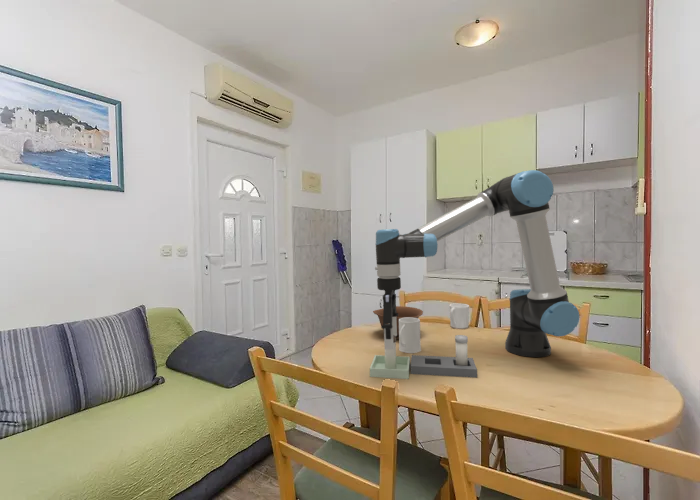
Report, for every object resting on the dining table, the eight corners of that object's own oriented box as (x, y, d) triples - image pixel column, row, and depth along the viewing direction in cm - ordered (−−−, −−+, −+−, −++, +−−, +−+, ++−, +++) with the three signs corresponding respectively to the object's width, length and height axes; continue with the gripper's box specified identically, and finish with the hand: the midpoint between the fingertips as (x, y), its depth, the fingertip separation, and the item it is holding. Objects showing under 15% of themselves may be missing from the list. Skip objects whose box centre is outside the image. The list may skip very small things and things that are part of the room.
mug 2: (456, 323, 169) (456, 302, 169) (473, 326, 162) (472, 305, 162) (443, 327, 162) (442, 306, 162) (460, 331, 155) (459, 308, 155)
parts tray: (410, 365, 117) (409, 356, 117) (408, 380, 105) (408, 370, 105) (375, 363, 119) (374, 355, 119) (369, 378, 108) (369, 368, 108)
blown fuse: (397, 367, 114) (396, 335, 113) (396, 372, 110) (395, 338, 110) (385, 367, 115) (384, 334, 114) (384, 371, 111) (383, 338, 110)
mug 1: (408, 358, 124) (407, 325, 123) (389, 353, 129) (388, 322, 129) (425, 349, 132) (424, 319, 132) (406, 345, 138) (406, 316, 138)
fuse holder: (472, 366, 115) (472, 332, 114) (477, 379, 105) (476, 342, 104) (411, 363, 119) (411, 330, 118) (410, 375, 109) (410, 339, 108)
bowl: (366, 331, 160) (365, 308, 159) (409, 326, 166) (408, 304, 166) (385, 345, 139) (384, 318, 138) (433, 339, 145) (432, 313, 145)
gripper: (381, 272, 124) (384, 330, 125) (371, 282, 100) (374, 354, 100) (402, 272, 122) (404, 331, 123) (397, 282, 98) (400, 355, 99)
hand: (391, 341), depth 112 cm, fingers open, 13 cm apart
